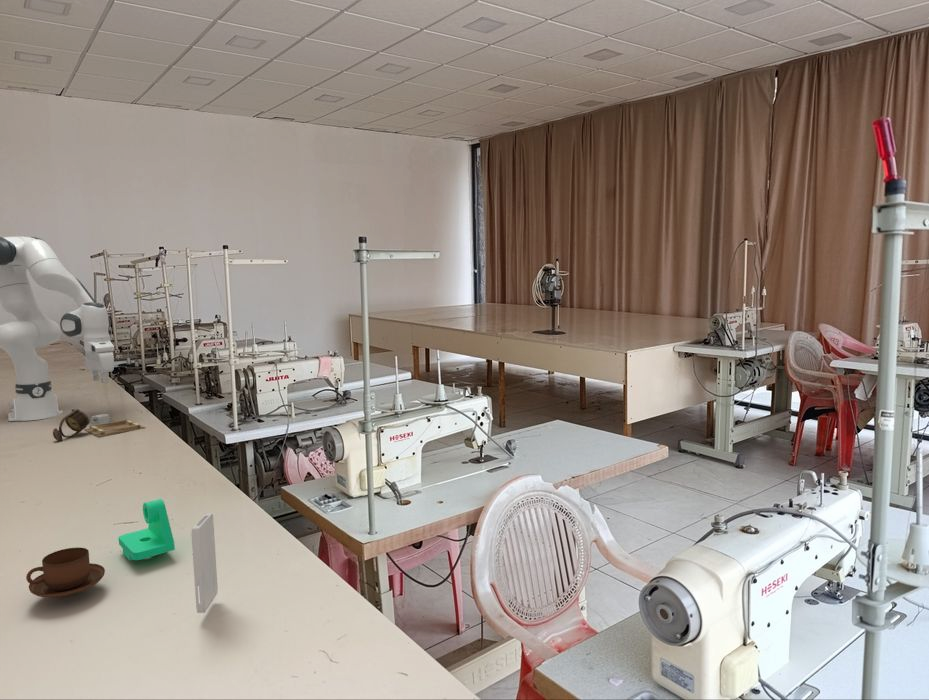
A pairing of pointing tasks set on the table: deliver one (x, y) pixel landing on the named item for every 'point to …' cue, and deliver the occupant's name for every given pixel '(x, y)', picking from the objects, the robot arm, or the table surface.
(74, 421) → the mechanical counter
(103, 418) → the usb wall charger
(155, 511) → the camera mount
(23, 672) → the table surface
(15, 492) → the table surface
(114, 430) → the picture frame
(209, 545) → the phone case
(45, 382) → the robot arm
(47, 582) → the cup and saucer
